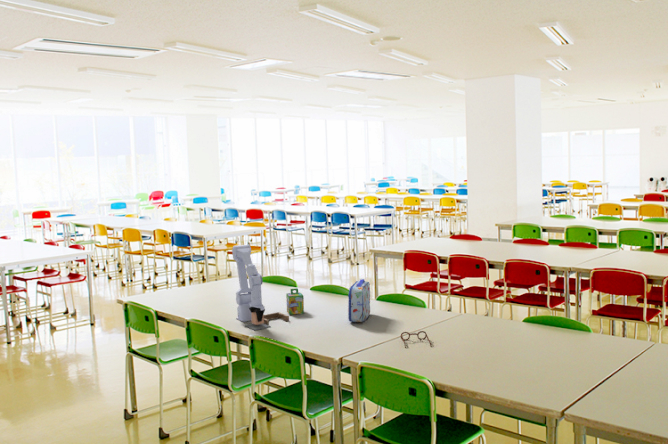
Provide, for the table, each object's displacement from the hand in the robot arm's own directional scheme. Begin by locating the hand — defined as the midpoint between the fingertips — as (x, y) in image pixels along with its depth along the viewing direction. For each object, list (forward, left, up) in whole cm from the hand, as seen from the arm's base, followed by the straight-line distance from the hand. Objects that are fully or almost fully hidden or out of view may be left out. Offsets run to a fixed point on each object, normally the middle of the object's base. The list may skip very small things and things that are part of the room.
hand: (257, 320), depth 324 cm
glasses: (+81, +45, -4) cm, 92 cm away
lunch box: (+25, +53, -4) cm, 59 cm away
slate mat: (0, 0, -3) cm, 3 cm away
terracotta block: (0, 0, -2) cm, 2 cm away
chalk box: (-12, +32, -4) cm, 34 cm away
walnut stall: (-4, +12, -3) cm, 13 cm away
